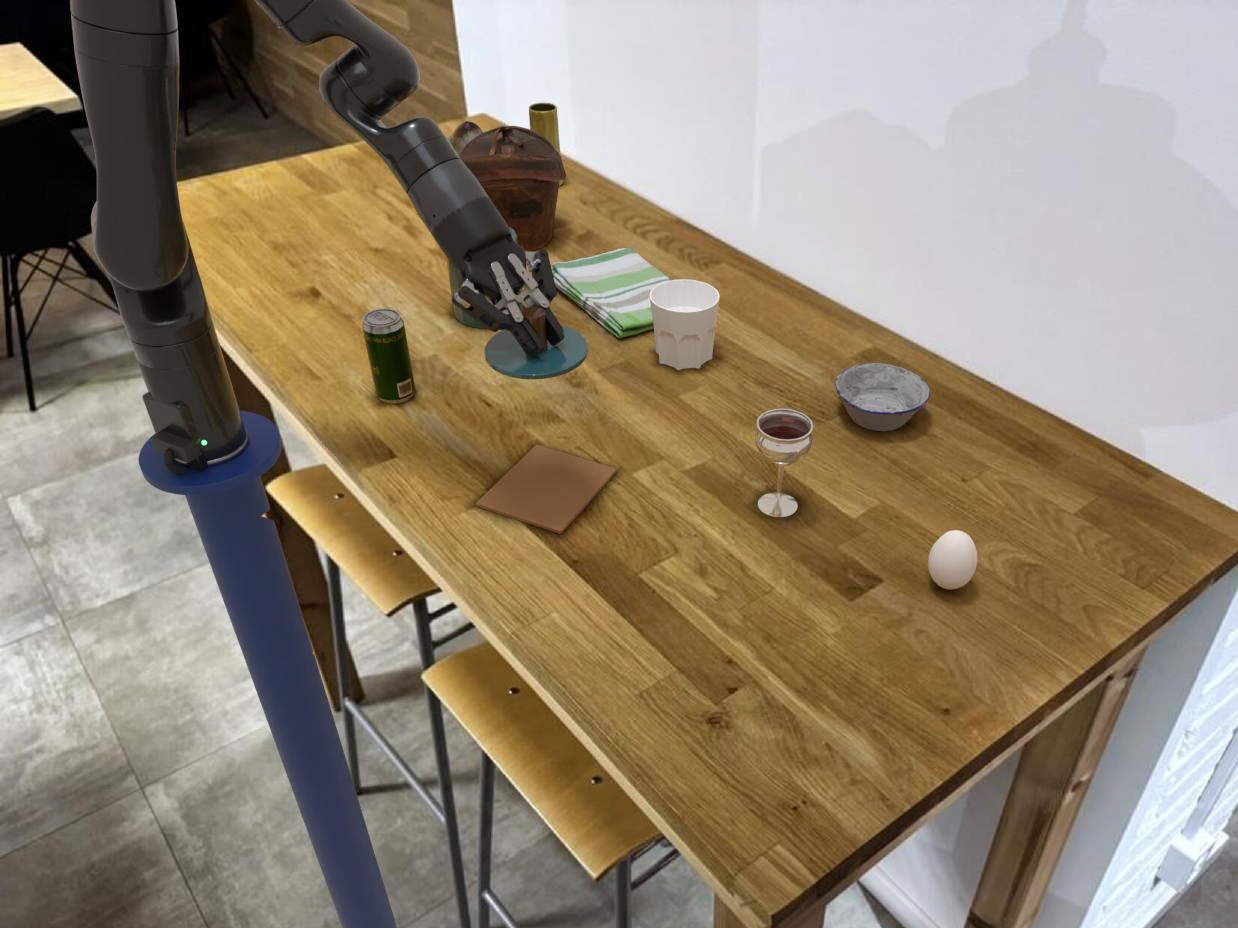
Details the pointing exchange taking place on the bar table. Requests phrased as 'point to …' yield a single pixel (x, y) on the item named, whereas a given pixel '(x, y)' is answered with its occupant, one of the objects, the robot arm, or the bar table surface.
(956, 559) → the egg
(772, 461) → the wineglass
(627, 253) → the dish towel
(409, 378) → the beer can
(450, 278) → the teal hollow cylinder
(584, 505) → the mat
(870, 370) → the bowl
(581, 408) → the bar table surface
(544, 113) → the vase
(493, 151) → the case
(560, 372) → the lid with knob
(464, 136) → the fruit
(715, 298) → the cup
